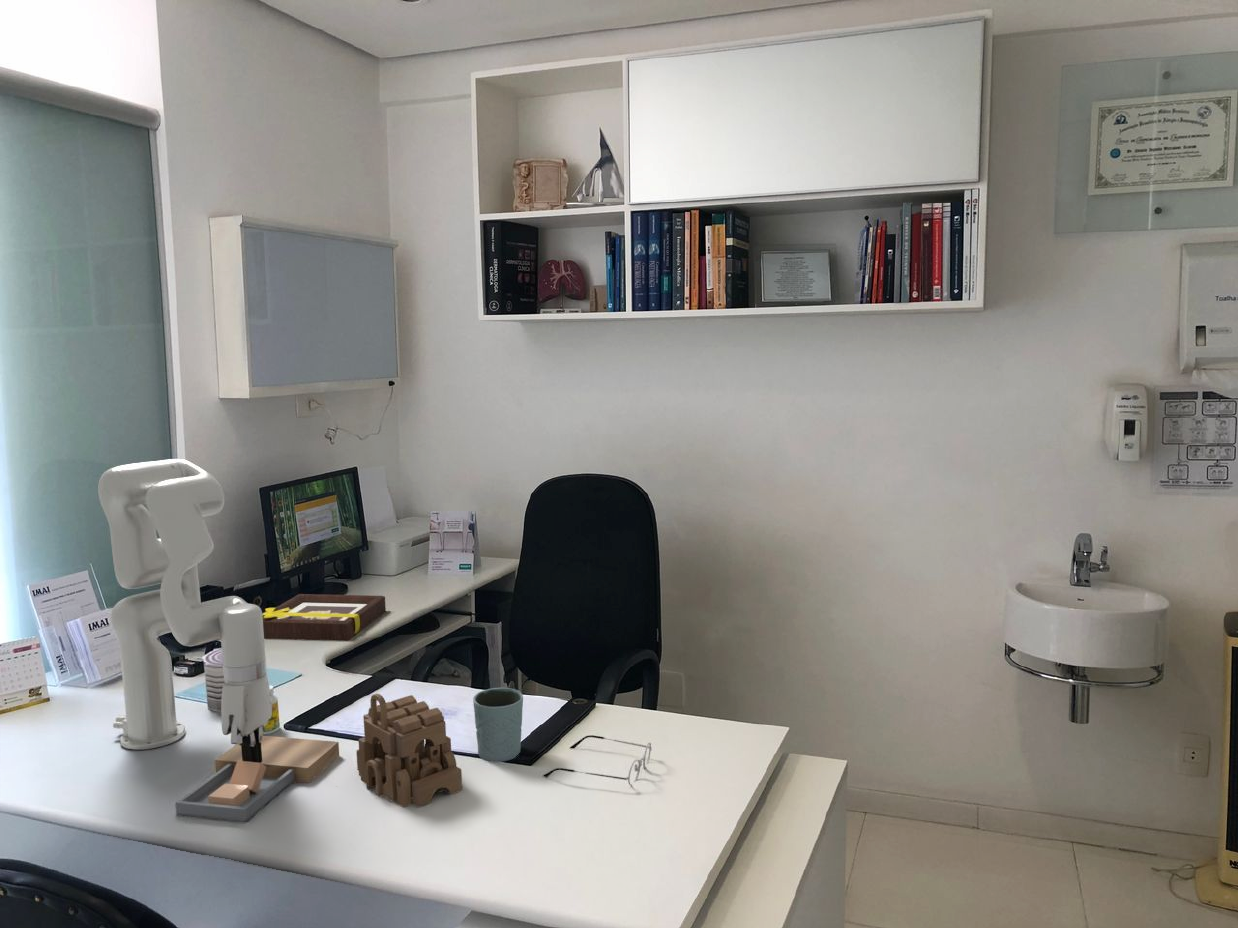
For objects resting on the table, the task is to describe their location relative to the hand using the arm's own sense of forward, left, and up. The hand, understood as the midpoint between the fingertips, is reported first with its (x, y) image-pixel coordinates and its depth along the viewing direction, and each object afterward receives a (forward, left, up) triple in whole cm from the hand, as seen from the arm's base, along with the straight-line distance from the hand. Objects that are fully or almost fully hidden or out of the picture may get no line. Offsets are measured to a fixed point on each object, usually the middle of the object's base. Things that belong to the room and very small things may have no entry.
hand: (252, 763), depth 186 cm
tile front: (0, -7, -2) cm, 8 cm away
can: (-29, +37, -5) cm, 48 cm away
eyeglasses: (+63, +19, -5) cm, 66 cm away
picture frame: (-40, +96, -5) cm, 104 cm away
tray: (0, -5, -5) cm, 7 cm away
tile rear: (0, -2, -2) cm, 3 cm away
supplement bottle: (-12, +24, -5) cm, 28 cm away
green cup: (+42, +22, -5) cm, 47 cm away
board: (0, +9, -5) cm, 10 cm away
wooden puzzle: (+28, +8, -5) cm, 29 cm away
